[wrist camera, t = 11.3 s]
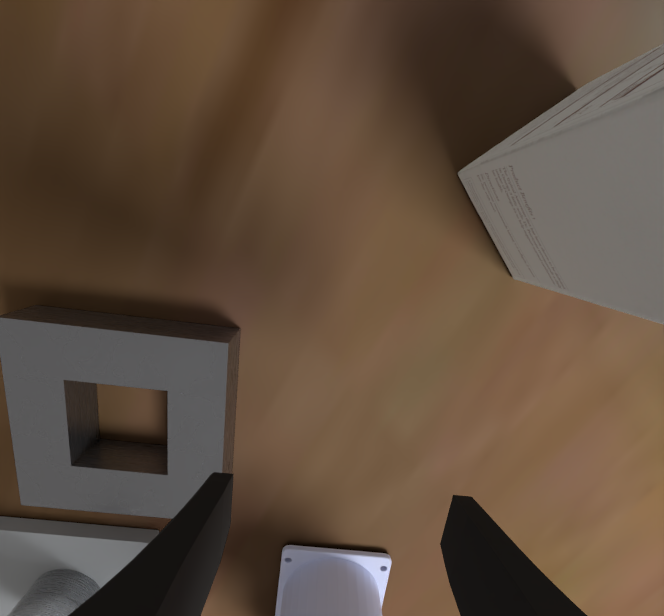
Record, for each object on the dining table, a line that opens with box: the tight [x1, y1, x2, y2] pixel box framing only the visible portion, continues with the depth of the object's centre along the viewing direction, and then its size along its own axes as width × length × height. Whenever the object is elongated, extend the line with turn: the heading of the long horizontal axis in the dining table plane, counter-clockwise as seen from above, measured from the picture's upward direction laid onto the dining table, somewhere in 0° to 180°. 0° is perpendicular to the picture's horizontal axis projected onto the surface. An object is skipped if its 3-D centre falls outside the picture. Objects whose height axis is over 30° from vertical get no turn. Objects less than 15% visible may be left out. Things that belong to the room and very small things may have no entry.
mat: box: [0, 516, 159, 616], centre depth 25 cm, size 12×12×1 cm
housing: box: [0, 305, 241, 519], centre depth 20 cm, size 12×12×2 cm
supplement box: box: [458, 44, 664, 324], centre depth 12 cm, size 7×7×13 cm
